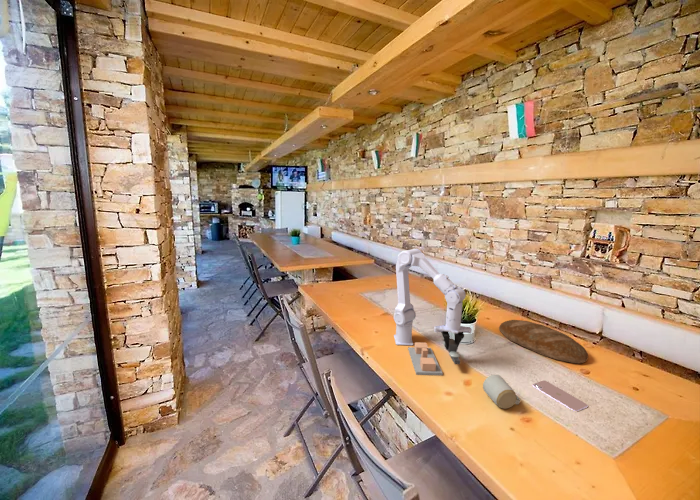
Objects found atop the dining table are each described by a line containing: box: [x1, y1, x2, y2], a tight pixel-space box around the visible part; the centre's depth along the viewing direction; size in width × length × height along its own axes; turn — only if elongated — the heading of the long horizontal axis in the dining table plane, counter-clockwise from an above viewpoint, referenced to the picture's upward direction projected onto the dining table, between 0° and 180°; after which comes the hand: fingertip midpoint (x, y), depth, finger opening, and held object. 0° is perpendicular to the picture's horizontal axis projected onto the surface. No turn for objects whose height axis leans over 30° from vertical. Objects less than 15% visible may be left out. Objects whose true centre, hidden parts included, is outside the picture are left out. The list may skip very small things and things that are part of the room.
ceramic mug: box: [482, 374, 521, 410], centre depth 98 cm, size 11×8×8 cm
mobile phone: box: [532, 380, 589, 412], centre depth 102 cm, size 8×1×15 cm
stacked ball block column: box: [442, 338, 461, 365], centre depth 121 cm, size 17×4×5 cm, turn 178°
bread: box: [498, 319, 589, 364], centre depth 137 cm, size 22×37×8 cm, turn 29°
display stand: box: [407, 341, 444, 376], centre depth 121 cm, size 19×10×5 cm, turn 178°
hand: (451, 348), depth 121 cm, fingers closed on stacked ball block column, 3 cm apart
